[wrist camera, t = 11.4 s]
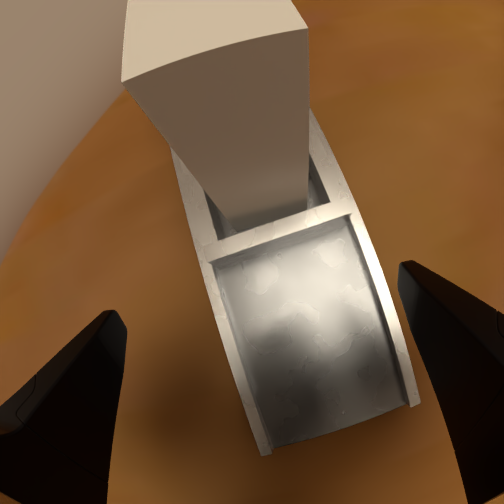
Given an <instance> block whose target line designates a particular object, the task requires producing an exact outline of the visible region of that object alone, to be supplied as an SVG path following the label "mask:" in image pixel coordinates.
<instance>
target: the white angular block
mask: <svg viewBox="0 0 504 504" xmlns="http://www.w3.org/2000/svg"><path fill="white" fill-rule="evenodd" d="M121 83H122V84H123V85H124V87H125V88H126V89H127V91H128V92H129V93H130V94H131V96H132V97H133V98H134V100H135V101H136V102H137V104H138V105H139V106H140V107H141V109H142V110H143V111H144V113H145V114H146V115H147V117H148V118H149V119H150V120H151V122H152V123H153V124H154V126H155V127H156V128H157V129H158V131H159V132H160V133H161V135H162V136H163V137H164V139H165V140H166V141H167V142H168V144H169V145H170V146H171V148H172V149H173V150H174V152H175V153H176V154H177V155H178V157H179V158H180V159H181V161H182V162H183V163H184V164H185V166H186V167H187V168H188V170H189V171H190V172H191V174H192V175H193V176H194V177H195V179H196V180H197V181H198V183H199V184H200V185H201V187H202V188H203V189H204V190H205V192H206V193H207V194H208V196H209V197H210V198H211V199H212V201H213V202H214V203H215V205H216V206H217V207H218V209H219V210H220V211H221V212H222V214H223V215H224V216H225V218H226V219H227V220H228V222H229V223H230V224H231V225H232V227H233V228H234V229H235V231H240V230H243V229H247V228H251V227H255V226H259V225H263V224H267V223H271V222H274V221H277V220H280V219H283V218H285V217H288V216H291V215H294V214H297V213H300V212H303V211H306V210H307V203H308V173H309V42H308V27H307V25H306V24H305V22H304V21H303V19H302V17H301V16H300V14H299V13H298V11H297V9H296V8H295V6H294V5H293V3H292V2H291V0H128V4H127V13H126V22H125V32H124V44H123V58H122V78H121Z"/></svg>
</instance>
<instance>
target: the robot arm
mask: <svg viewBox="0 0 504 504" xmlns="http://www.w3.org/2000/svg"><path fill="white" fill-rule="evenodd" d="M397 285H398V291H399V295H400V298H401V301H402V304H403V307H404V310H405V313H406V317H407V320H408V323H409V326H410V329H411V333H412V335H413V338H414V340H415V343H416V345H417V347H418V350H419V352H420V355H421V357H422V360H423V362H424V365H425V367H426V370H427V372H428V375H429V377H430V380H431V383H432V385H433V388H434V391H435V394H436V396H437V399H438V402H439V405H440V408H441V411H442V413H443V416H444V419H445V422H446V425H447V429H448V432H449V435H450V438H451V441H452V445H453V448H454V450H455V455H456V459H457V462H458V466H459V470H460V473H461V477H462V481H463V485H464V489H465V493H466V498H467V502H468V504H485V503H487V502H489V501H491V500H493V499H495V498H497V497H498V496H500V495H502V494H504V314H502V313H501V312H499V311H496V309H494V308H493V307H491V306H489V305H488V304H486V303H485V302H483V301H481V300H480V299H478V298H477V297H475V296H473V295H472V294H470V293H468V292H467V291H465V290H463V289H462V288H460V287H458V286H457V285H455V284H453V283H452V282H450V281H448V280H447V279H445V278H443V277H441V276H440V275H438V274H436V273H435V272H433V271H431V270H429V269H428V268H426V267H424V266H422V265H421V264H419V263H417V262H415V261H413V260H409V261H404V262H401V263H400V264H399V271H398V284H397ZM126 342H127V328H126V326H125V324H124V323H123V321H122V319H121V318H120V316H119V314H118V313H117V311H115V310H105V311H103V312H102V313H101V314H100V315H98V316H97V317H96V318H95V319H94V320H93V321H92V322H91V323H90V324H88V325H87V326H86V327H85V328H84V329H83V330H82V331H81V332H80V333H79V334H78V335H76V336H75V337H74V338H73V339H72V340H71V341H70V342H69V343H68V344H67V345H66V346H65V347H63V348H62V349H61V350H60V351H59V352H58V353H57V354H56V355H55V356H54V357H53V358H52V359H51V360H50V361H49V362H48V363H47V364H45V365H44V366H43V367H42V368H41V369H40V370H39V371H38V372H37V374H35V375H34V376H33V377H32V378H31V379H30V380H29V381H28V382H27V383H26V384H25V385H24V386H23V387H21V388H20V389H19V390H18V391H17V392H16V393H15V394H14V395H13V396H11V397H10V398H9V399H8V400H7V401H6V402H5V403H3V404H2V405H1V406H0V504H107V493H108V480H109V469H110V460H111V452H112V443H113V436H114V429H115V422H116V415H117V409H118V402H119V396H120V390H121V385H122V379H123V373H124V364H125V352H126Z"/></svg>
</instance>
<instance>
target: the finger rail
mask: <svg viewBox="0 0 504 504" xmlns="http://www.w3.org/2000/svg"><path fill="white" fill-rule="evenodd" d="M170 149H171V154H172V158H173V162H174V166H175V171H176V175H177V179H178V183H179V187H180V191H181V195H182V199H183V203H184V207H185V211H186V215H187V219H188V223H189V227H190V230H191V234H192V238H193V242H194V245H195V249H196V253H197V257H198V260H199V264H200V267H201V271H202V274H203V278H204V282H205V285H206V289H207V292H208V295H209V299H210V302H211V306H212V309H213V312H214V316H215V319H216V322H217V326H218V329H219V332H220V335H221V339H222V342H223V345H224V348H225V351H226V355H227V358H228V361H229V364H230V367H231V370H232V373H233V376H234V379H235V382H236V385H237V388H238V391H239V394H240V397H241V400H242V403H243V406H244V409H245V412H246V415H247V418H248V421H249V423H250V426H251V429H252V432H253V435H254V438H255V440H256V443H257V446H258V449H259V451H260V454H261V456H265V455H270V454H272V453H273V449H274V448H277V447H281V446H285V445H289V444H293V443H297V442H300V441H304V440H308V439H311V438H314V437H318V436H321V435H324V434H328V433H331V432H334V431H337V430H340V429H343V428H346V427H349V426H352V425H354V424H357V423H360V422H363V421H365V420H368V419H371V418H373V417H376V416H378V415H381V414H383V413H386V412H388V411H391V410H393V409H396V408H398V407H400V406H402V405H405V404H407V405H408V406H410V407H413V406H415V405H417V404H419V403H421V402H420V397H419V393H418V389H417V385H416V381H415V377H414V373H413V369H412V365H411V362H410V358H409V354H408V351H407V347H406V344H405V340H404V337H403V333H402V330H401V327H400V323H399V320H398V317H397V314H396V311H395V307H394V304H393V301H392V298H391V295H390V292H389V289H388V286H387V284H386V281H385V278H384V275H383V272H382V269H381V267H380V264H379V261H378V258H377V256H376V253H375V250H374V248H373V245H372V243H371V240H370V237H369V235H368V232H367V230H366V227H365V225H364V222H363V220H362V218H361V215H360V213H359V210H358V208H357V206H356V203H355V201H354V199H353V196H352V194H351V192H350V189H349V187H348V185H347V183H346V180H345V178H344V176H343V174H342V172H341V169H340V167H339V165H338V163H337V161H336V159H335V157H334V154H333V152H332V150H331V148H330V146H329V144H328V142H327V140H326V138H325V136H324V134H323V132H322V130H321V128H320V126H319V124H318V122H317V120H316V118H315V116H314V114H313V113H312V111H311V109H310V107H309V173H308V203H307V210H306V211H303V212H300V213H297V214H294V215H291V216H288V217H285V218H283V219H280V220H277V221H274V222H271V223H267V224H263V225H259V226H255V227H251V228H247V229H243V230H240V231H235V229H234V228H233V227H232V225H231V224H230V223H229V222H228V220H227V219H226V218H225V216H224V215H223V214H222V212H221V211H220V210H219V209H218V207H217V206H216V205H215V203H214V202H213V201H212V199H211V198H210V197H209V196H208V194H207V193H206V192H205V190H204V189H203V188H202V187H201V185H200V184H199V183H198V181H197V180H196V179H195V177H194V176H193V175H192V174H191V172H190V171H189V170H188V168H187V167H186V166H185V164H184V163H183V162H182V161H181V159H180V158H179V157H178V155H177V154H176V153H175V152H174V150H173V149H172V148H171V146H170Z"/></svg>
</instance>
